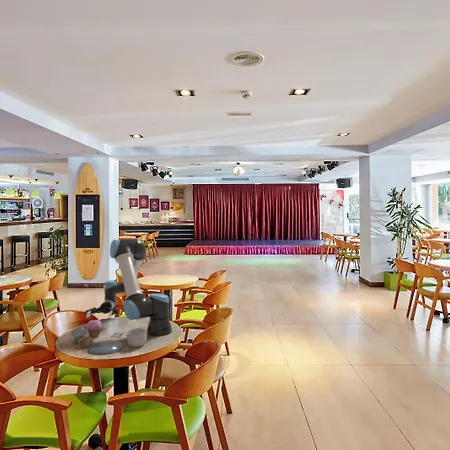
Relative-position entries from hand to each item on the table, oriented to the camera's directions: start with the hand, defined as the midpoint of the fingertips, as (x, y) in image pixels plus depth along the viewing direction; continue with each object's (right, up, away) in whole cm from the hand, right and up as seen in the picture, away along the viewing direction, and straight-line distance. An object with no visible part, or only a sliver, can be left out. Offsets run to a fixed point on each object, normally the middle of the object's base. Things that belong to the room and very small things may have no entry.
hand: (98, 315), depth 225 cm
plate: (+14, -10, -29) cm, 34 cm away
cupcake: (+1, -10, -10) cm, 14 cm away
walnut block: (+2, -10, -25) cm, 27 cm away
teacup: (+30, -10, -23) cm, 39 cm away
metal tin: (-4, -10, -19) cm, 22 cm away
